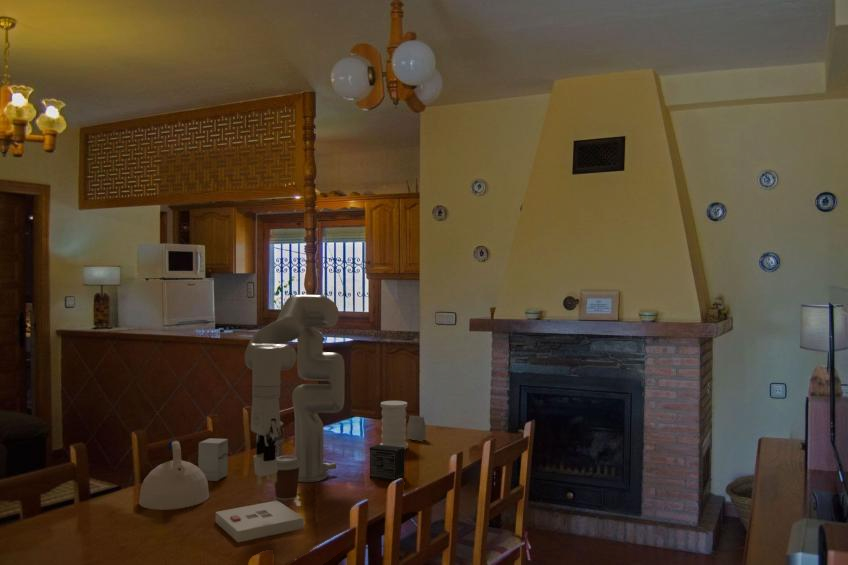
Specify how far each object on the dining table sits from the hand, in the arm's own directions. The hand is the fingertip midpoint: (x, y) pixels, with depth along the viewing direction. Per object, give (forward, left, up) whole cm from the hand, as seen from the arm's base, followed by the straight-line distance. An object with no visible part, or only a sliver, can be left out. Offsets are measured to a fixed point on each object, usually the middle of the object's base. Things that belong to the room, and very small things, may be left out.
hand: (265, 457), depth 187 cm
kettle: (+15, -36, -18) cm, 43 cm away
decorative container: (-76, -56, -18) cm, 96 cm away
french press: (-28, -64, -18) cm, 72 cm away
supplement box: (-2, -53, -18) cm, 56 cm away
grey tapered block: (-91, -62, -18) cm, 112 cm away
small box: (-51, -20, -18) cm, 58 cm away
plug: (0, 0, -7) cm, 7 cm away
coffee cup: (-14, -19, -18) cm, 30 cm away
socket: (+2, 0, -18) cm, 18 cm away
